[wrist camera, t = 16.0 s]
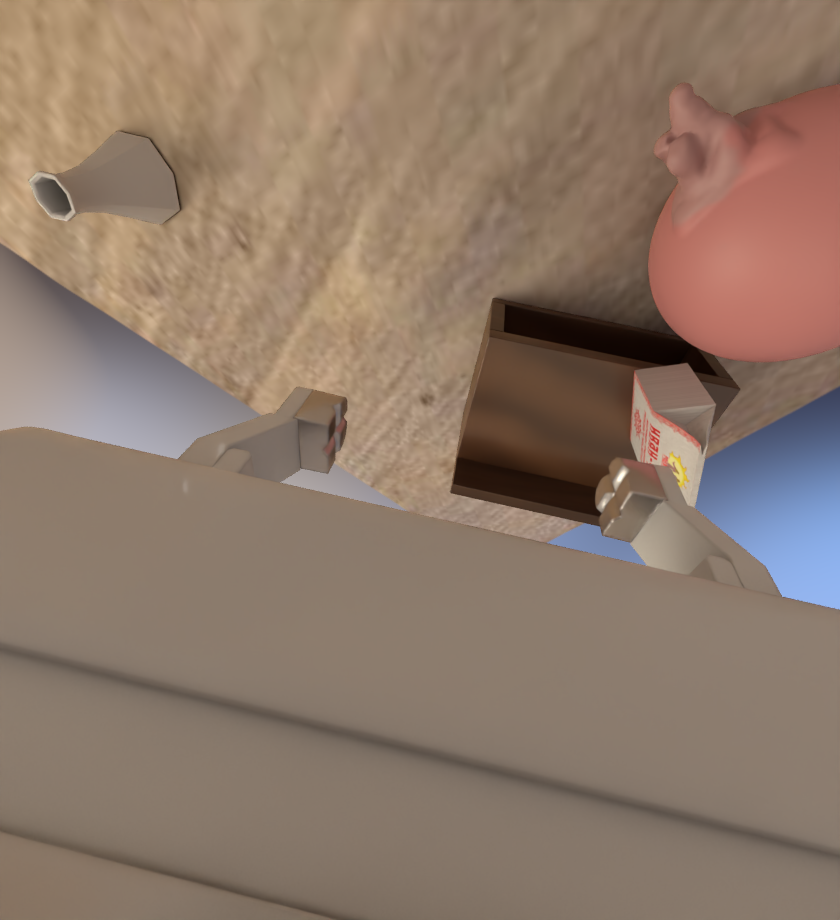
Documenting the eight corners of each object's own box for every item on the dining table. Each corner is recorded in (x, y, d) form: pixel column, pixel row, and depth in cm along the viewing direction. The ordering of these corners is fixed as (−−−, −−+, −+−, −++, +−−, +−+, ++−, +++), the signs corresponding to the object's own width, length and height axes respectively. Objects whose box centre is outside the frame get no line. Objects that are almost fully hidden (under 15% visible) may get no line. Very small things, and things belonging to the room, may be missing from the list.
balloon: (765, -50, 25) (988, -190, 13) (899, 208, 31) (1129, 266, 20) (553, 183, 34) (575, 221, 22) (691, 347, 40) (764, 445, 28)
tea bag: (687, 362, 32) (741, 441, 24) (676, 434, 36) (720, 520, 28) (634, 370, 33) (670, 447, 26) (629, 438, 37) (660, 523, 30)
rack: (492, 297, 40) (486, 358, 30) (702, 340, 39) (764, 417, 30) (462, 416, 49) (450, 493, 39) (631, 453, 49) (662, 540, 39)
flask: (194, 218, 40) (120, 244, 33) (132, 229, 42) (48, 255, 34) (153, 122, 36) (57, 126, 28) (85, 138, 37) (-23, 145, 30)
